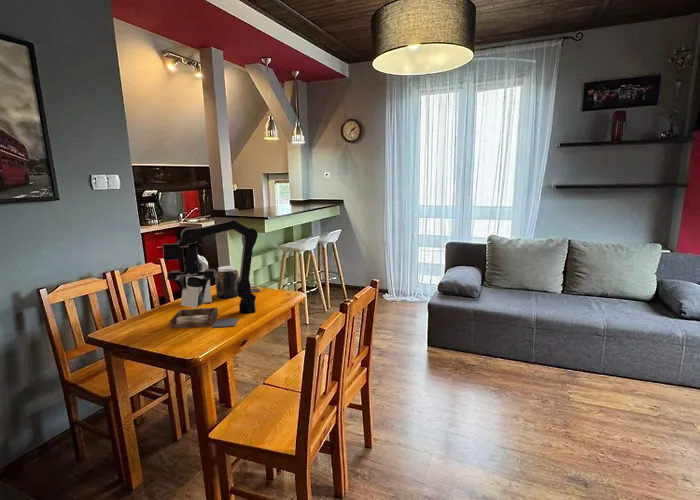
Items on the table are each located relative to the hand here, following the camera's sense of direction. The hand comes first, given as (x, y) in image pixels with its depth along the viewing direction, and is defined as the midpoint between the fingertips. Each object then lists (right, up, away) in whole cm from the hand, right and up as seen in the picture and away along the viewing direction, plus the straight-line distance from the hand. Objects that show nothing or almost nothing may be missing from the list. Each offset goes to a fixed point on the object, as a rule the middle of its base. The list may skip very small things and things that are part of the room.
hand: (194, 293), depth 160 cm
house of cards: (+14, -4, +47) cm, 50 cm away
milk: (-10, -7, +31) cm, 33 cm away
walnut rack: (0, -12, +1) cm, 12 cm away
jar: (+2, -5, +39) cm, 40 cm away
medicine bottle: (-1, -5, +1) cm, 5 cm away
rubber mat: (+14, -12, -2) cm, 19 cm away
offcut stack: (+1, -13, -3) cm, 13 cm away
